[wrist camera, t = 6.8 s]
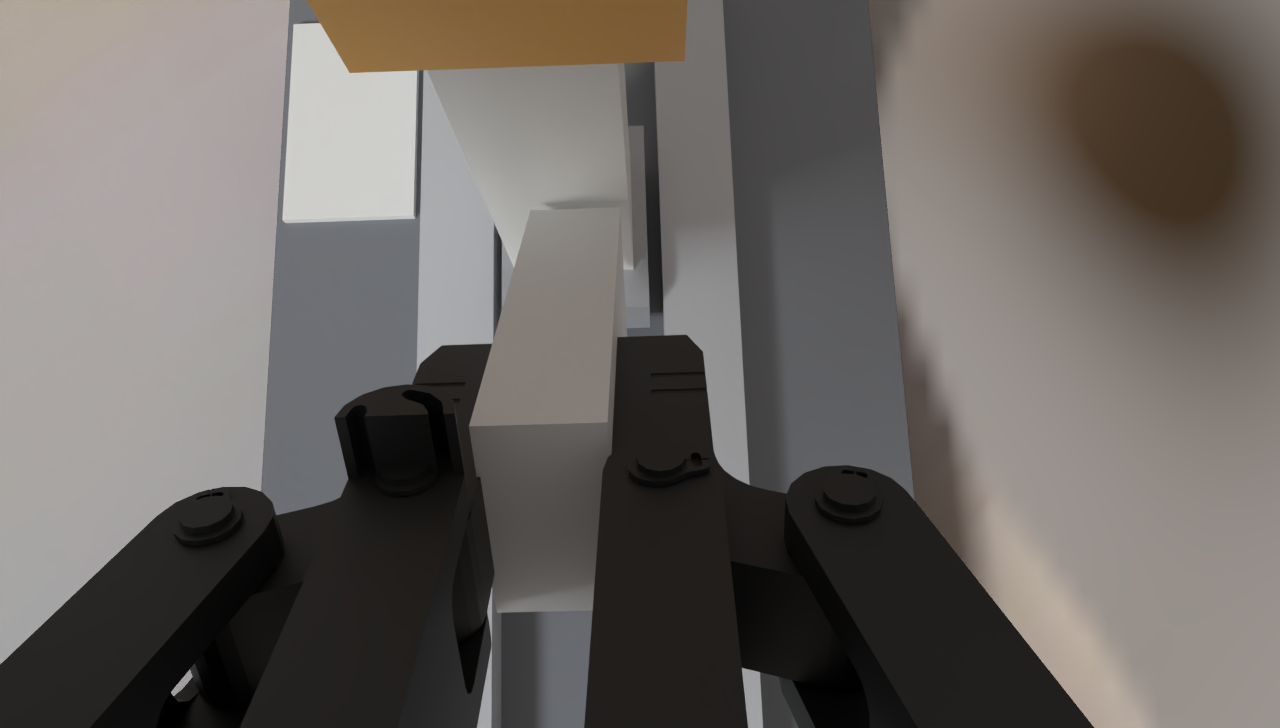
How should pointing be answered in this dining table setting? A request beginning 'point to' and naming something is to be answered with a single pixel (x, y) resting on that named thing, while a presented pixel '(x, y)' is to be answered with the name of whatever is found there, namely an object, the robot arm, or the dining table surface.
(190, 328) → the dining table surface
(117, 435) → the dining table surface
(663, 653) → the robot arm
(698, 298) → the switch panel
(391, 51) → the lever
